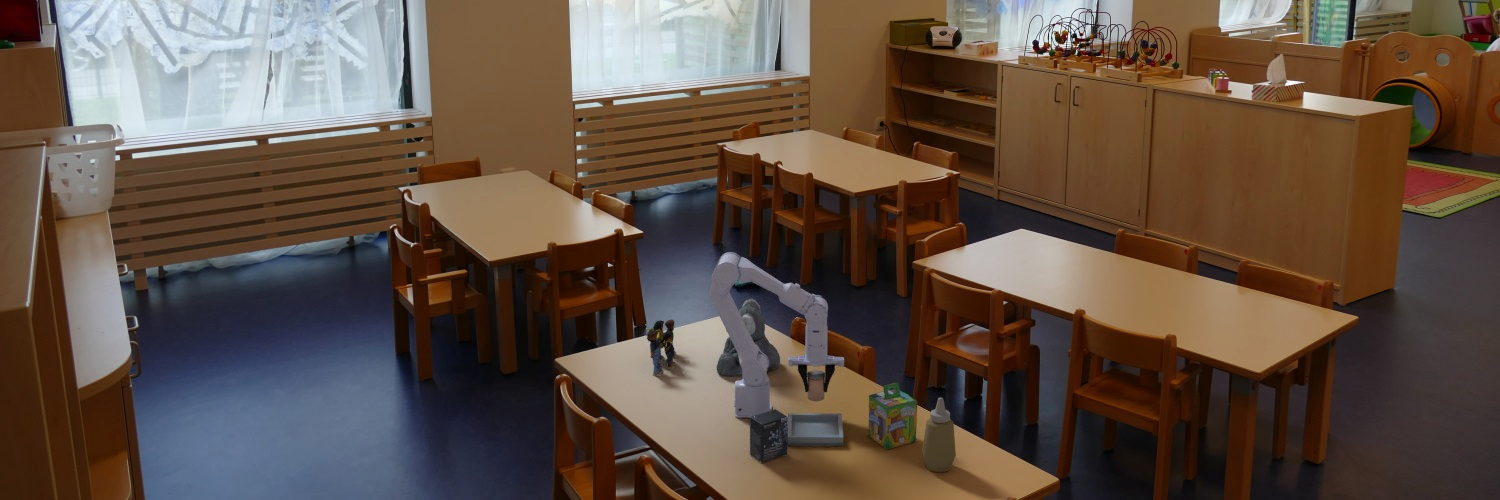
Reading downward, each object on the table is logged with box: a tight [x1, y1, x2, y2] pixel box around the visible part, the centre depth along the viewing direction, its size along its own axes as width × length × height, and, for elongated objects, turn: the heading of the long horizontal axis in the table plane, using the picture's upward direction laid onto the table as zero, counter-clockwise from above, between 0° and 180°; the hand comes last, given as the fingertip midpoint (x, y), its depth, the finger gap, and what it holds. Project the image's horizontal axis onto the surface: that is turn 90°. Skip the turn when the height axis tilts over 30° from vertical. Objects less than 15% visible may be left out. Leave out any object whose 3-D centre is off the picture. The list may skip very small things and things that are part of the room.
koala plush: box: [716, 298, 781, 377], centre depth 341 cm, size 17×18×20 cm
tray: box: [787, 412, 844, 447], centre depth 301 cm, size 14×14×2 cm
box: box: [749, 408, 789, 464], centre depth 288 cm, size 8×6×11 cm
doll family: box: [645, 319, 678, 377], centre depth 345 cm, size 23×9×13 cm, turn 6°
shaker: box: [807, 369, 825, 402], centre depth 310 cm, size 5×5×7 cm
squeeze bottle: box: [921, 397, 957, 473], centre depth 280 cm, size 8×8×18 cm
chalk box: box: [867, 382, 918, 450], centre depth 295 cm, size 9×9×15 cm
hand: (816, 390), depth 310 cm, fingers closed on shaker, 4 cm apart
